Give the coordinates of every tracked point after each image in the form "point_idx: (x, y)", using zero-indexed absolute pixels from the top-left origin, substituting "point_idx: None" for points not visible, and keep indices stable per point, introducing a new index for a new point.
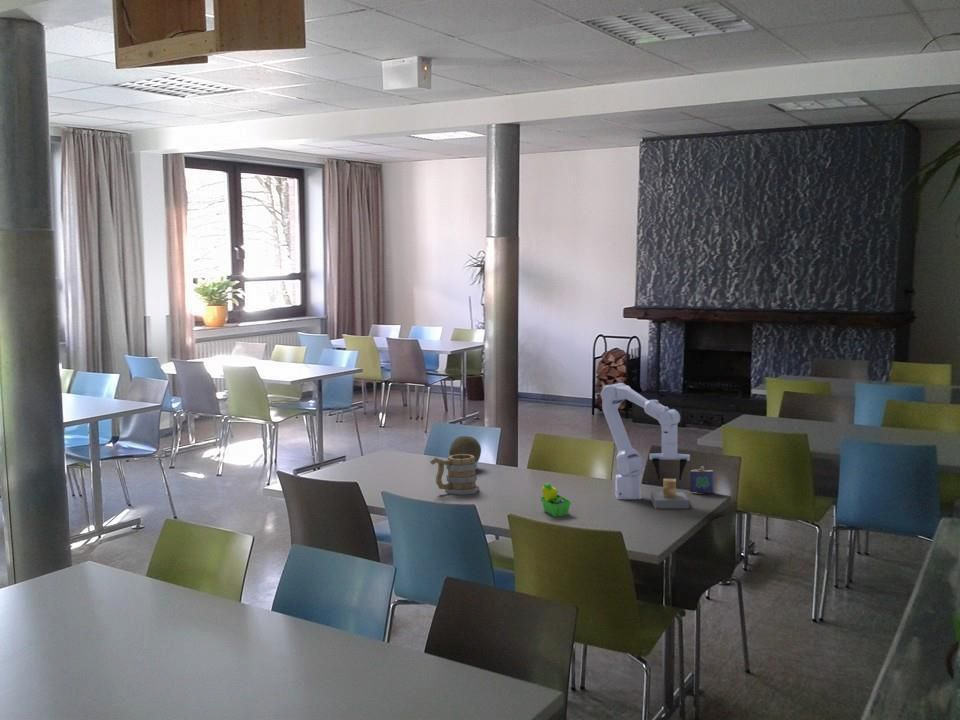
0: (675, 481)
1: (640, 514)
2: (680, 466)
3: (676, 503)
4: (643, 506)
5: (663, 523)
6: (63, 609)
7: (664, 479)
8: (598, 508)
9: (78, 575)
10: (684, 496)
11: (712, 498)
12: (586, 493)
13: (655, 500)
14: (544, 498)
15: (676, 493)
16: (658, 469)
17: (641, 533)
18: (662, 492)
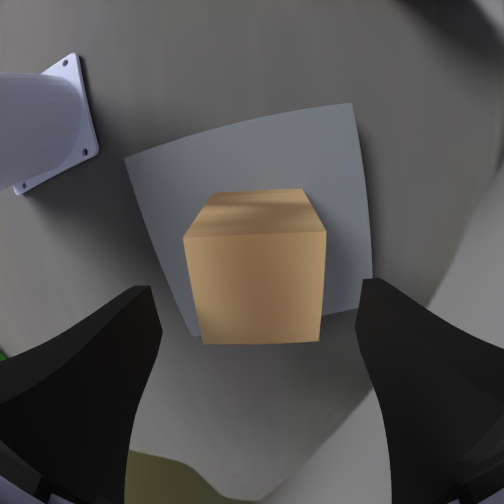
0: (316, 334)
1: (164, 380)
2: (399, 466)
3: None
4: (138, 283)
5: (254, 434)
6: None
7: (200, 277)
8: (29, 321)
9: None
10: (358, 228)
11: (471, 75)
12: None
13: (189, 329)
14: None
15: (305, 150)
16: (126, 424)
17: (215, 468)
18: (199, 138)
